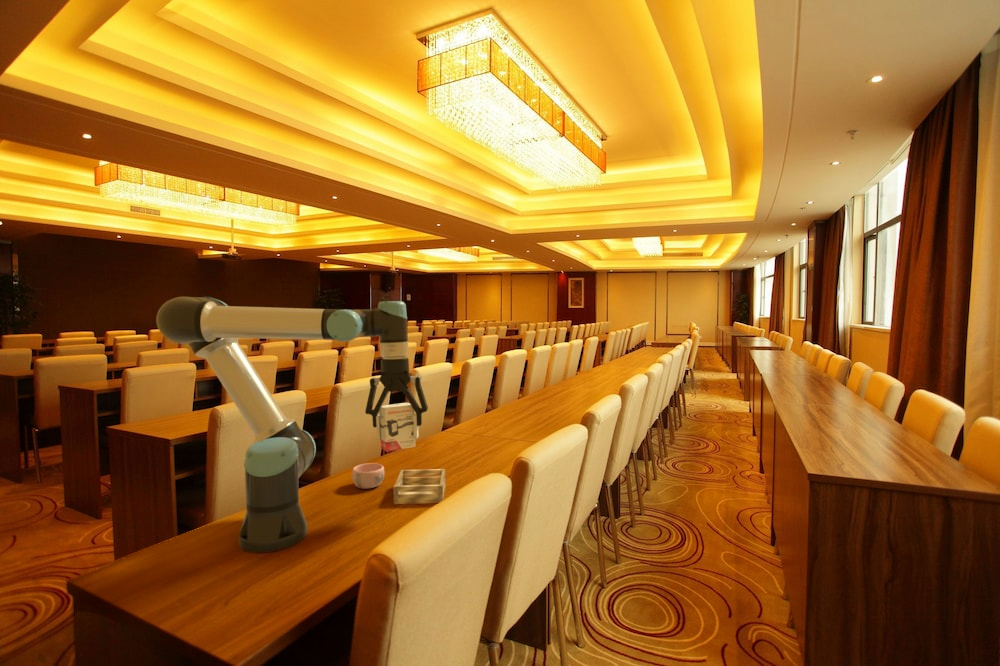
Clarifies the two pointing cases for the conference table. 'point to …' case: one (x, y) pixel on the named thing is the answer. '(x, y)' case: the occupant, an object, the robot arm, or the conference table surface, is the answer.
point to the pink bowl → (368, 475)
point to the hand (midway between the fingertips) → (398, 438)
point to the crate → (419, 487)
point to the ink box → (397, 426)
